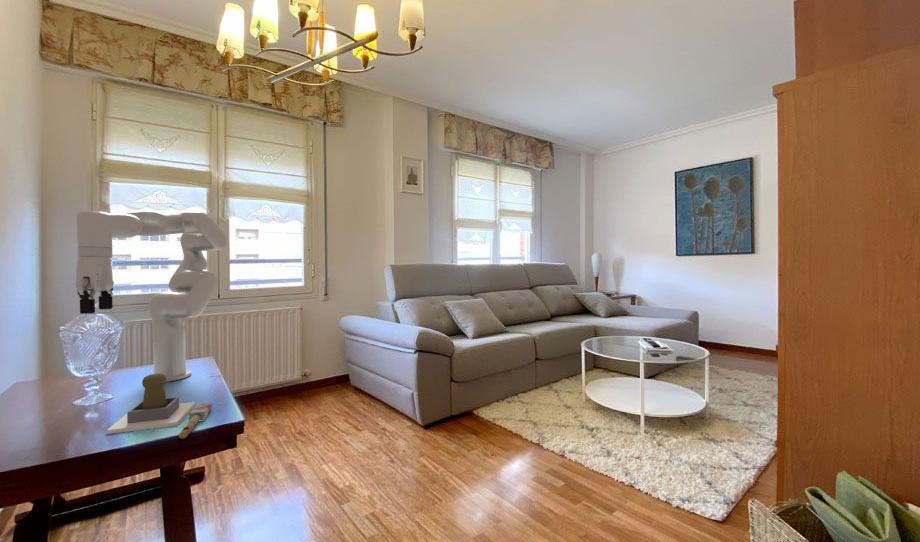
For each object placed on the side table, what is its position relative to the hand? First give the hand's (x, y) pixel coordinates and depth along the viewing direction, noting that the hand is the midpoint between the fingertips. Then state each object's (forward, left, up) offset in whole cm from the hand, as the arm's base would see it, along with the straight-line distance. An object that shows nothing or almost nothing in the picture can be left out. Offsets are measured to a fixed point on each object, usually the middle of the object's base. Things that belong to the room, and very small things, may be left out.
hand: (97, 311), depth 115 cm
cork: (+16, +19, -28) cm, 37 cm away
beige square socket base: (+17, +20, -28) cm, 38 cm away
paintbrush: (+23, +31, -29) cm, 48 cm away
